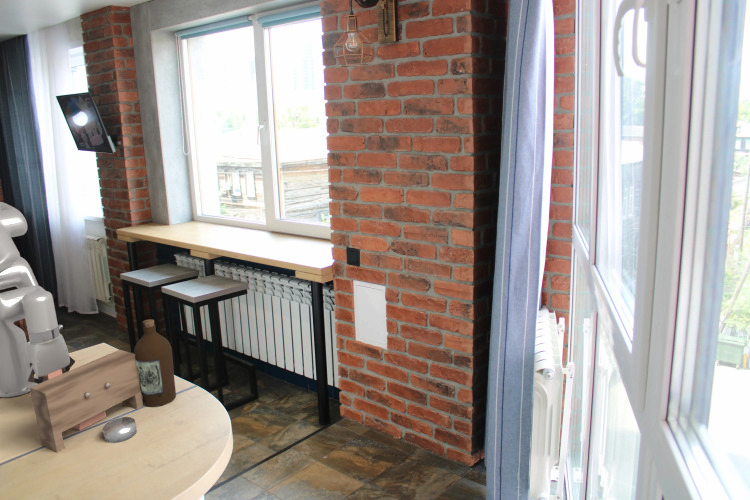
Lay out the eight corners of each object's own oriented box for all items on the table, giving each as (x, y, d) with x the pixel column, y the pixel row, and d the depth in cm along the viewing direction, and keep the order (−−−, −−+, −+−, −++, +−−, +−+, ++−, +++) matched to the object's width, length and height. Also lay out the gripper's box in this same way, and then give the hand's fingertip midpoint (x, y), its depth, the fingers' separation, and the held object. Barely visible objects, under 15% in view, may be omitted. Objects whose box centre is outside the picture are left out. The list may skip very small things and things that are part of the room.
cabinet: (41, 445, 150) (29, 387, 146) (128, 400, 172) (119, 349, 168) (59, 453, 146) (47, 394, 142) (145, 406, 168) (137, 354, 164)
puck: (98, 437, 153) (96, 427, 152) (126, 423, 159) (124, 414, 159) (114, 446, 148) (112, 436, 148) (142, 432, 155) (141, 422, 154)
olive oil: (151, 390, 178) (139, 314, 172) (183, 390, 177) (173, 314, 171) (134, 408, 167) (121, 328, 161) (169, 408, 166) (157, 327, 160)
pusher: (41, 414, 166) (31, 370, 163) (67, 402, 173) (59, 359, 169) (80, 430, 157) (71, 383, 153) (106, 416, 163) (98, 371, 160)
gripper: (64, 322, 171) (75, 378, 176) (6, 342, 158) (19, 403, 162) (79, 326, 168) (89, 383, 172) (21, 347, 154) (33, 409, 158)
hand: (55, 392), depth 167 cm, fingers closed on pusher, 4 cm apart
